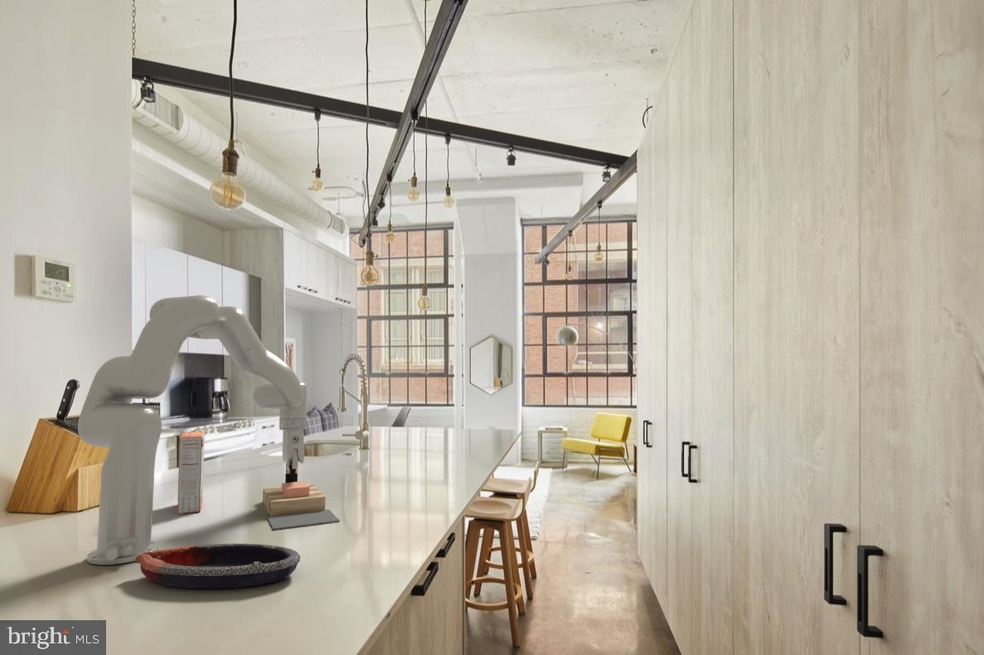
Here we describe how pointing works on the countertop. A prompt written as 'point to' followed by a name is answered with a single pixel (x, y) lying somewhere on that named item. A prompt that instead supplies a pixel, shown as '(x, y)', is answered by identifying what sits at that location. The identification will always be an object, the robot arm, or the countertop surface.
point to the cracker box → (190, 472)
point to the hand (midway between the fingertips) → (291, 486)
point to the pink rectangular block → (295, 489)
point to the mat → (301, 519)
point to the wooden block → (292, 501)
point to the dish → (218, 565)
